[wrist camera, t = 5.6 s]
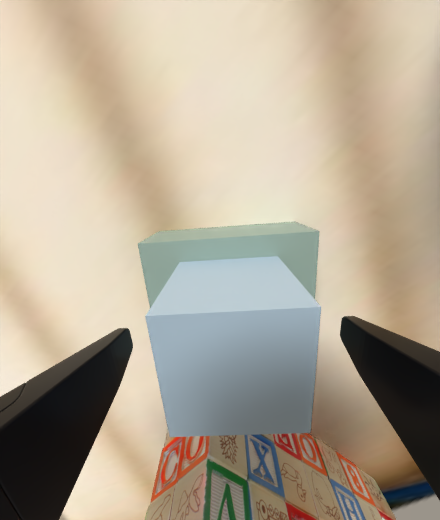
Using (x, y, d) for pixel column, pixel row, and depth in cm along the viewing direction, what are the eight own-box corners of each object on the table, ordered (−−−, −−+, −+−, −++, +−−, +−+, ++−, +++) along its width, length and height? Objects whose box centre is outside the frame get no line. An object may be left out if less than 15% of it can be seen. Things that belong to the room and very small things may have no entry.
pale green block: (293, 221, 14) (319, 231, 10) (291, 313, 16) (311, 350, 12) (160, 230, 14) (137, 243, 11) (174, 319, 17) (159, 356, 13)
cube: (277, 256, 11) (321, 307, 6) (276, 339, 12) (310, 432, 7) (179, 261, 11) (145, 316, 6) (190, 343, 12) (169, 437, 8)
